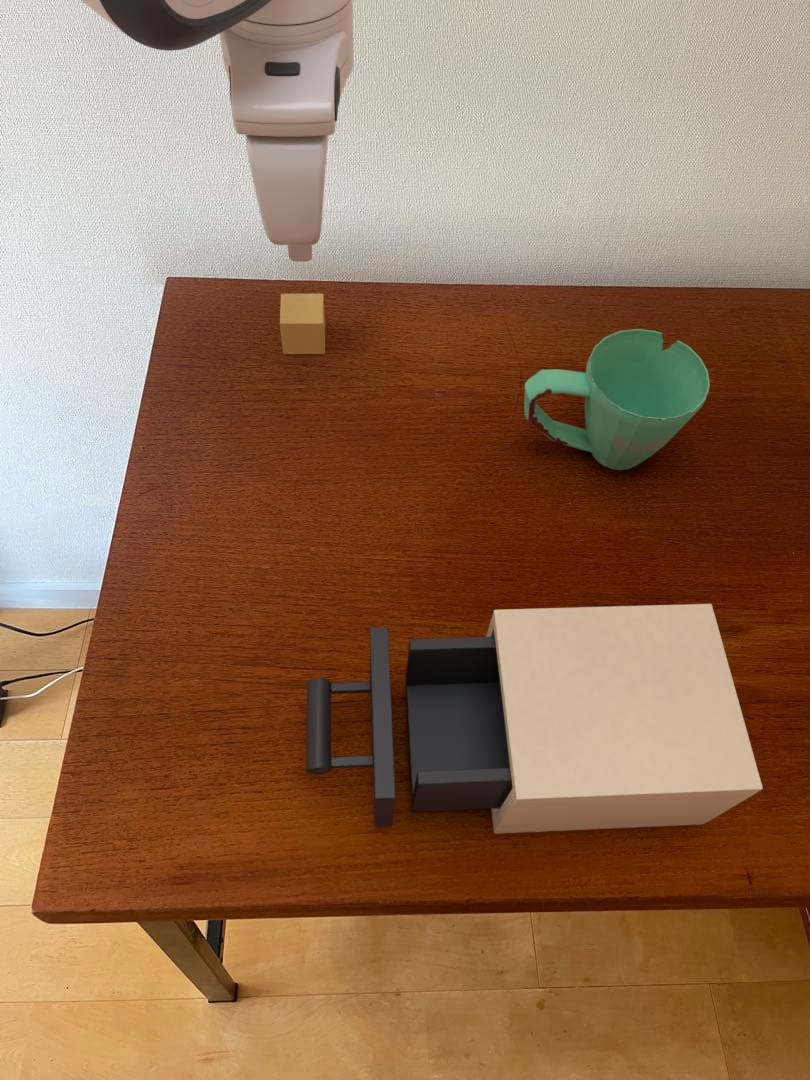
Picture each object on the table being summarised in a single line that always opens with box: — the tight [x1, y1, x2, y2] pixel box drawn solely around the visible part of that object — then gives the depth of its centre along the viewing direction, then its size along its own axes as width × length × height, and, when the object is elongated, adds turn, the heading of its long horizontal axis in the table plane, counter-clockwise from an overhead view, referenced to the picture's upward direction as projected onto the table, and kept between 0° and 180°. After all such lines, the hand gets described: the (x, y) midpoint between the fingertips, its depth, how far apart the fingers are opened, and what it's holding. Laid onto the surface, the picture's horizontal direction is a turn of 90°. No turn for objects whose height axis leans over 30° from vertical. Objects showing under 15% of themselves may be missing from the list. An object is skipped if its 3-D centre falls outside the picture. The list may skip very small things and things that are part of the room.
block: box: [279, 293, 326, 355], centre depth 77 cm, size 4×4×4 cm
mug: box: [523, 328, 711, 471], centre depth 68 cm, size 15×10×10 cm
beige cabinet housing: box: [485, 603, 764, 835], centre depth 54 cm, size 15×12×10 cm
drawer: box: [305, 626, 513, 828], centre depth 54 cm, size 18×11×8 cm, turn 93°
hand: (302, 216), depth 65 cm, fingers open, 8 cm apart
